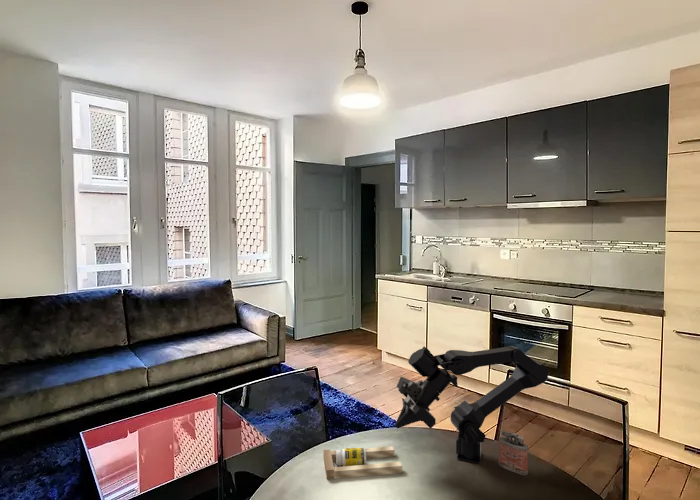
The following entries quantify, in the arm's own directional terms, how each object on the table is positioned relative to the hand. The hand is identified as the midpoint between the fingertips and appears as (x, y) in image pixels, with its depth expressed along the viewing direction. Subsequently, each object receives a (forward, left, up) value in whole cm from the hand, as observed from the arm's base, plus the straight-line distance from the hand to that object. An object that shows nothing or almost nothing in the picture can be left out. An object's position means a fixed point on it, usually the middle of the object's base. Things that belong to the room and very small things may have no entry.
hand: (396, 426), depth 119 cm
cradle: (+8, +5, -10) cm, 14 cm away
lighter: (-31, -9, -11) cm, 34 cm away
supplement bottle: (+7, +4, -8) cm, 12 cm away
